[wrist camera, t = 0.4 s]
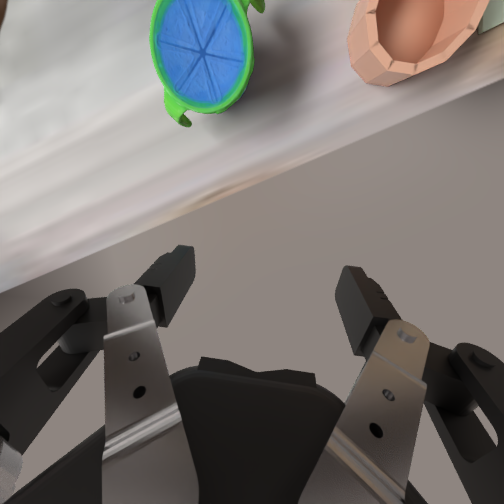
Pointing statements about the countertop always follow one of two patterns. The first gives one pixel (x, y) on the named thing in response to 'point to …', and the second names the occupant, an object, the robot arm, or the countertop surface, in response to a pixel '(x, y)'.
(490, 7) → the mat
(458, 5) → the bowl
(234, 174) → the countertop surface
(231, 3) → the snack cup
